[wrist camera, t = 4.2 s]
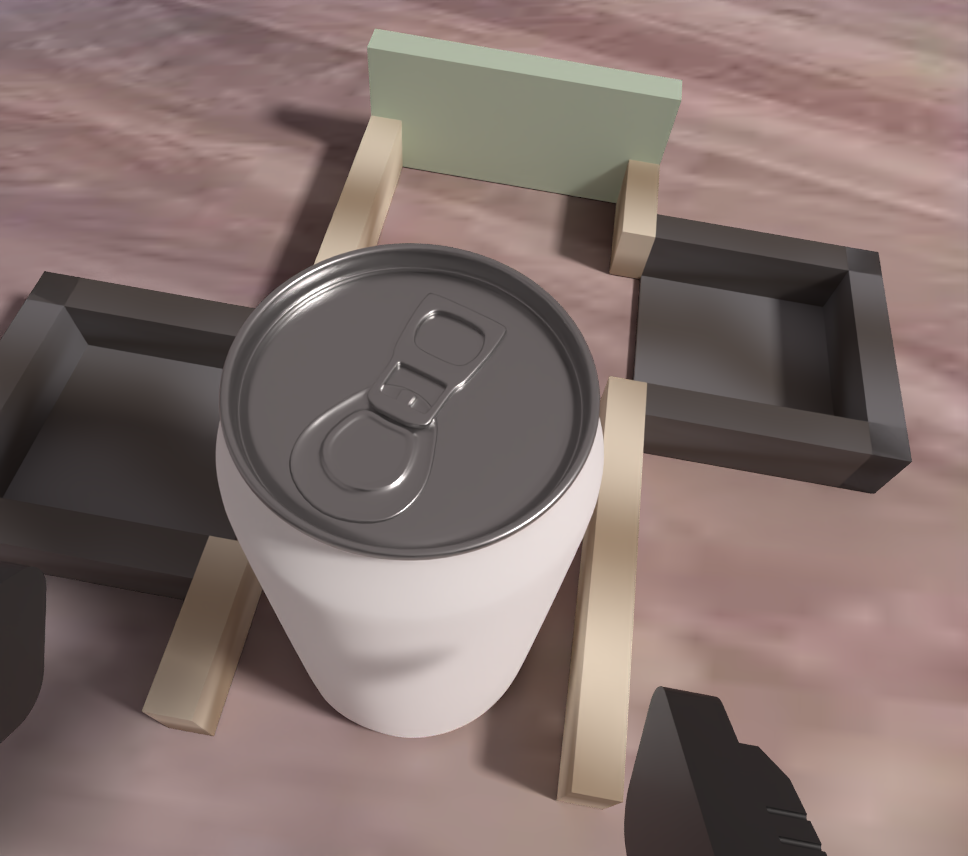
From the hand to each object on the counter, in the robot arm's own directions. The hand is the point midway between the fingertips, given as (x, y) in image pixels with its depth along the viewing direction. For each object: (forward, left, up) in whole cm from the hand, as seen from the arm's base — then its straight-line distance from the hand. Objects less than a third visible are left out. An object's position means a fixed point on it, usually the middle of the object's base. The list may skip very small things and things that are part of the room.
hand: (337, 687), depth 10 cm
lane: (+8, +8, -11) cm, 16 cm away
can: (+3, +3, -11) cm, 12 cm away
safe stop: (+17, +16, -11) cm, 26 cm away
